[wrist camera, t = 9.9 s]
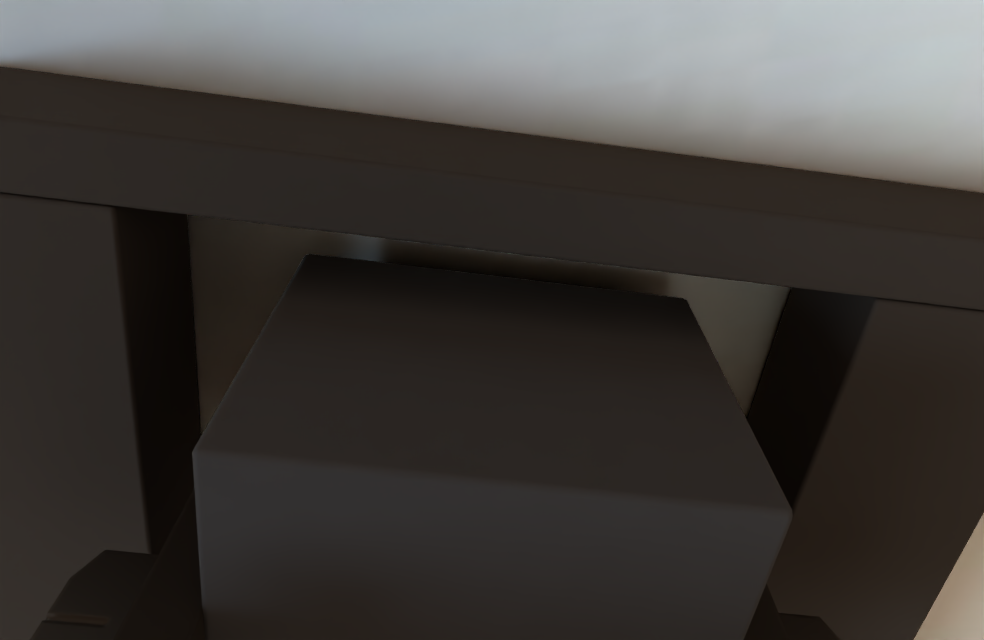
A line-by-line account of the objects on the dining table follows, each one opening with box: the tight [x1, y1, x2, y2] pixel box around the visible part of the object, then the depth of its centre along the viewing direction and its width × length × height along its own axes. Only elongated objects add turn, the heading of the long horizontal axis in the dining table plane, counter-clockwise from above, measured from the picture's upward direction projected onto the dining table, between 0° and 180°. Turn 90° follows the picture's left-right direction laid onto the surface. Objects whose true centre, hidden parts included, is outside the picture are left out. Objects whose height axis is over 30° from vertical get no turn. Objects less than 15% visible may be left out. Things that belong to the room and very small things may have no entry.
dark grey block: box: [192, 254, 793, 640], centre depth 11 cm, size 7×6×5 cm
